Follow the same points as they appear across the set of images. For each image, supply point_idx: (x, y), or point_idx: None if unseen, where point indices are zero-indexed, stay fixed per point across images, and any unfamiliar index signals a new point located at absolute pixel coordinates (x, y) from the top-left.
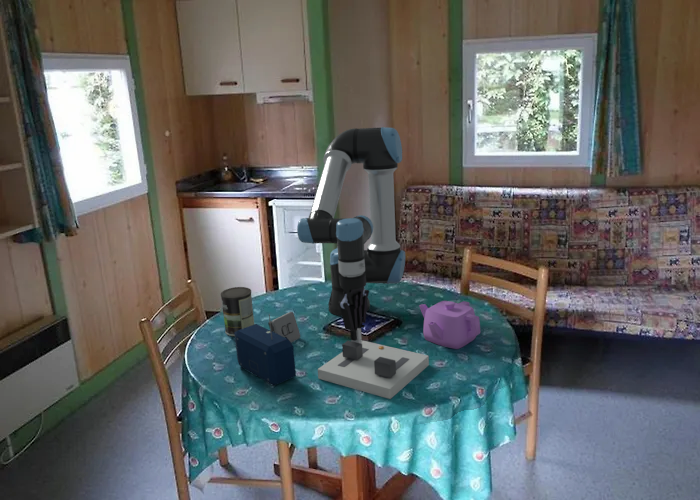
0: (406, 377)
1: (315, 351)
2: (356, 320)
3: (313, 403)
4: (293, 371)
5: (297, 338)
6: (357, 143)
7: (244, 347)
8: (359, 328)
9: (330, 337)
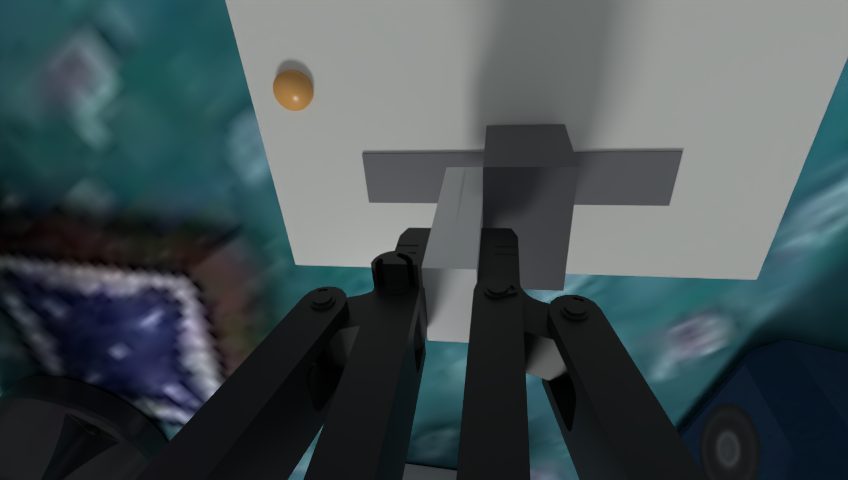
0: None
1: (460, 378)
2: (486, 365)
3: None
4: (818, 367)
5: (412, 467)
6: None
7: None
8: (435, 276)
9: None
